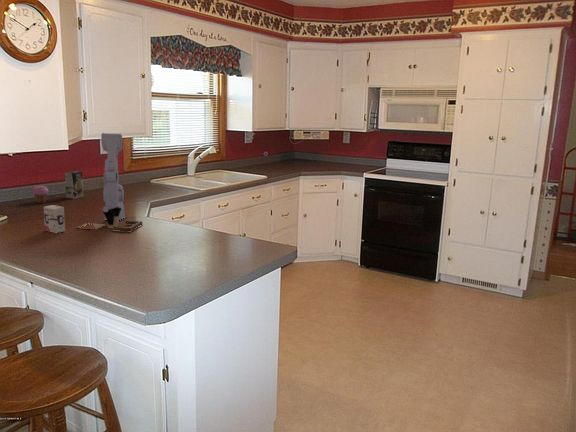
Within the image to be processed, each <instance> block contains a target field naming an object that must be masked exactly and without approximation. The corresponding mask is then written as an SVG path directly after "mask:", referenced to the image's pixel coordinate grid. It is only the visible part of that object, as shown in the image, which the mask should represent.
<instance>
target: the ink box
mask: <svg viewBox="0 0 576 432" xmlns="http://www.w3.org/2000/svg"><path fill="white" fill-rule="evenodd" d="M43 219H44V231H45V230H46V231H50V232H54V233H58V232H63V231H65V232H66V221H65V220H66V218H65V207H64V206H59V205H55V204H51V205H46V206H43ZM46 231H45V232H46ZM50 232H49V233H50ZM54 233H53V234H54Z"/></svg>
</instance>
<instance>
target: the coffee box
mask: <svg viewBox="0 0 576 432" xmlns="http://www.w3.org/2000/svg"><path fill="white" fill-rule="evenodd" d="M64 179H65V185H64V186H65V198H66V199H74V200H75V199H78V198H82V197H84V180H83V171H80V170H79V171H78V170H76V171H75V170H73V171H67V172H64Z"/></svg>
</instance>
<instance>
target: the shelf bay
mask: <svg viewBox="0 0 576 432" xmlns="http://www.w3.org/2000/svg"><path fill="white" fill-rule="evenodd" d="M124 223H125V224H134V225H129V227H128V226H127V227H126V226H125V227H123V226H119V227H113V228H112V231H113V230H120V231H131V230H133V229H135V228H136V227H138V226H140V225H142V226H143V221H140V220H139V221H138V220H125V221H124ZM135 230H136V229H135ZM133 231H134V230H133Z"/></svg>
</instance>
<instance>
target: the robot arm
mask: <svg viewBox="0 0 576 432" xmlns="http://www.w3.org/2000/svg"><path fill="white" fill-rule="evenodd" d="M100 136H101V138H100V141H101V145H102V150H103V151H105V152H106V153H107V158H106V159H105V160H104V172H103V183H104V184H103V185H104V187H103V192H102V194H103V195H102V199H103V202H104V203H105V204H104V205H105V206H104V207H102V213H103V215H104V216H105V218H104V219H103V221H105V220H107V221H106V223H107V222H108V225H113V221H114V216H119V220H120V221H122V220H124V219H126V218H125V217H126V216H125V205H124V201H125V192H124V187H123V186H122V185H121V184H119V179H120V178H119V175H120V174H119V171H118V170H119V169H118V168H119V167H118V164H119V162H118V154H119V152H121V151H122V150H123V134H122V133H105V132H102V133H101V135H100ZM123 218H124V219H123ZM121 219H122V220H121Z"/></svg>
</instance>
